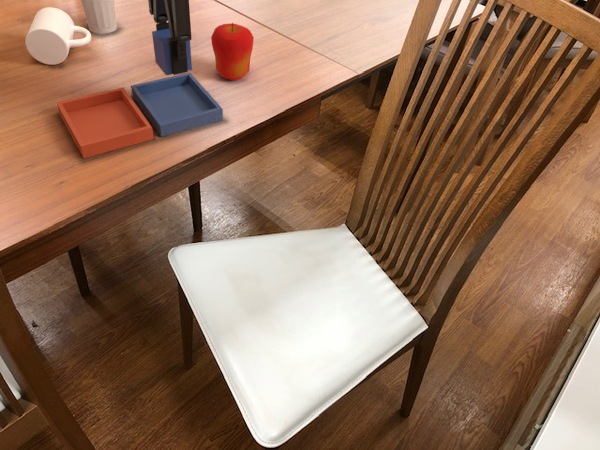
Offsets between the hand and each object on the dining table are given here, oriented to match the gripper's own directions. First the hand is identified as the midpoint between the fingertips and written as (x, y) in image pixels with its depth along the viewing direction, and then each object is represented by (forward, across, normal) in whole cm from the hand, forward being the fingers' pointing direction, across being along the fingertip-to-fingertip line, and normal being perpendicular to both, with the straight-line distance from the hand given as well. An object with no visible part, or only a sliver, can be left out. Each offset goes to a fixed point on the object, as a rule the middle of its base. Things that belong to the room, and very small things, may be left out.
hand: (173, 64), depth 93 cm
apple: (+10, +7, -16) cm, 20 cm away
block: (0, 0, 0) cm, 0 cm away
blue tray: (+9, 0, 0) cm, 9 cm away
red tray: (+9, 0, +14) cm, 17 cm away
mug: (+9, +29, +13) cm, 33 cm away
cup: (+10, +38, +2) cm, 39 cm away
